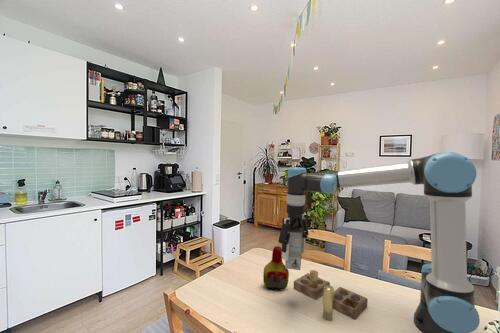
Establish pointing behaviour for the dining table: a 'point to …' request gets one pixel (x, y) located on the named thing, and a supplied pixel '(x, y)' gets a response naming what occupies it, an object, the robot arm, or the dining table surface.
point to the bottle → (276, 271)
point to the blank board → (348, 302)
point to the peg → (328, 303)
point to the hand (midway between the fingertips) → (293, 255)
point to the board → (308, 289)
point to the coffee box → (294, 249)
